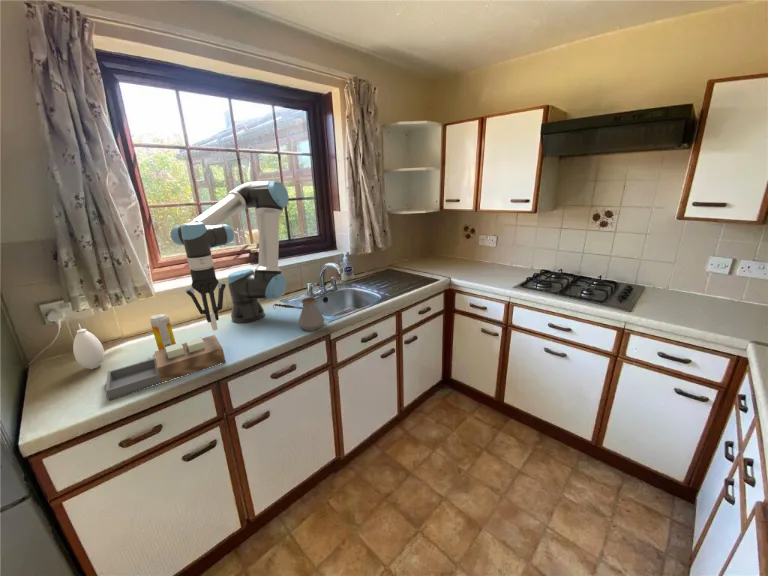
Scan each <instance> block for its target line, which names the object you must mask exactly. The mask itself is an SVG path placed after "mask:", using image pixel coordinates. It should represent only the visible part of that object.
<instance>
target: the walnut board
mask: <svg viewBox="0 0 768 576" xmlns="http://www.w3.org/2000/svg"><path fill="white" fill-rule="evenodd" d="M201 338H202V340H203V341H204V345H205V348H203V349H200V350H197V351H193V352H189V349H188V347H187V343H186V342H184V343H182V346H183V349H184V352H185V354H183V355H180V356H176V357H173V358H169V359H168V355H167V352H166V349H162V350H156V351H154V358H156V363H157V368H158V371H159V375H160V378H161V381H162V382H165V381H168V382H170V381H169V380H171V379H174V378H177V377H180V378H182V377H181V376H183V377H186V376H188V375H187V374H189V375H191V373H192V374H195V373H198V372H202V371H204V370H203V369H205V370H208V369H209V367H211V368H213V367H212V366H214V367H216V366H215V365H217V366H219V365H218V364H220V363H223V364H225V363H224V362H227V361H226V358H225V353H224V349H223V346H222V345H221V343H220V341H219V339H218V338H217V336H216V335H215V334H213V335H210V336H205V337H201ZM220 365H221V364H220ZM207 368H208V369H207ZM201 370H202V371H201ZM194 372H195V373H194ZM185 375H186V376H185ZM177 379H178V378H177ZM174 380H175V379H174ZM171 381H172V380H171ZM165 383H166V382H165Z"/></svg>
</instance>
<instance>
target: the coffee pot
mask: <svg viewBox="0 0 768 576" xmlns="http://www.w3.org/2000/svg"><path fill="white" fill-rule="evenodd" d="M316 302H317V298H315V297H305V298H304V299H302V300H301V303H302V305H303V306H294V305H289V304H281V303H279V304H278V303H273V305H272V308H273V310H275V309H276V307H278V308H280V307H282V308H285V309H286V308H287V309H297V310H301V312H300V315H299V319H298V321H297V322H298V323H297V324H298V325H299V327H300V328H302V329H303V330H305V331H310V332H311V331H316V330H318V329H320V328H321V327H322V326H323V324H324V323H325V317H324V316H323V314H322V313H321V310H320V309H319V308H318V306H317V304H316Z"/></svg>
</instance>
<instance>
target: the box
mask: <svg viewBox="0 0 768 576" xmlns="http://www.w3.org/2000/svg"><path fill="white" fill-rule="evenodd" d="M159 383H162V381H161V378H160V375H159V371H158V368H157V363H156V357H154V358H150V359H148V360H144V361H140V362H136V363H134V364H130V365H126V366H123V367H119V368H115V369H112V370H109V371H107V375H106V385H105V393H106V396H107V399H108V401H112V400H116V399H118V398H119V399H120V398H122V397H124V396H128V395H131V394H134V393H137V392H139V390H141V391H143V390H142V389H144V388H147V387H150V386H152V385H156V384H159ZM162 384H163V383H162ZM159 385H160V384H159ZM156 386H157V385H156ZM150 388H151V387H150ZM147 389H148V388H147ZM144 390H145V389H144ZM136 391H137V392H136ZM133 392H134V393H133Z"/></svg>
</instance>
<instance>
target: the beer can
mask: <svg viewBox="0 0 768 576" xmlns="http://www.w3.org/2000/svg"><path fill="white" fill-rule="evenodd" d="M170 321H171V320H170V317H169V315H168V313H164V312H163V313H156V314H153V315H151V316H150V319H149V322H150V326H151V329H152V332H153V336H154V339H155V342H156V346H157V349H158V350H157V351H159V350H162V349H166V348H165V347H167V346H171V345H174V344H177V343H176V340H175V335H174V331H173V329H172V328H173V327H172V326H171V325H172V324H171V322H170Z"/></svg>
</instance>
